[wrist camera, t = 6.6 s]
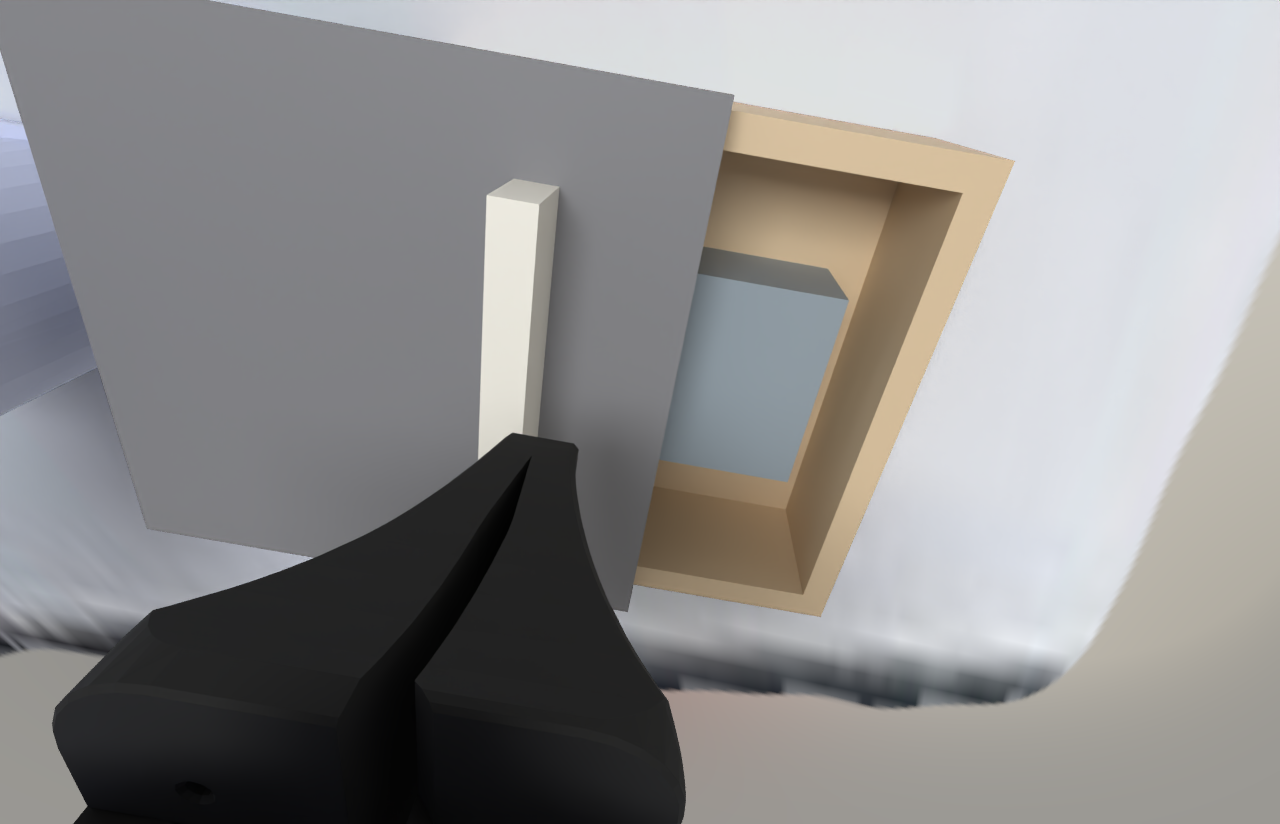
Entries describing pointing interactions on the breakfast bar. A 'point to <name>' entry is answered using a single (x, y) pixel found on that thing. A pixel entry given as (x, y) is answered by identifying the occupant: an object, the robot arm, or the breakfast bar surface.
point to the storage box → (805, 348)
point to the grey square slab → (362, 260)
